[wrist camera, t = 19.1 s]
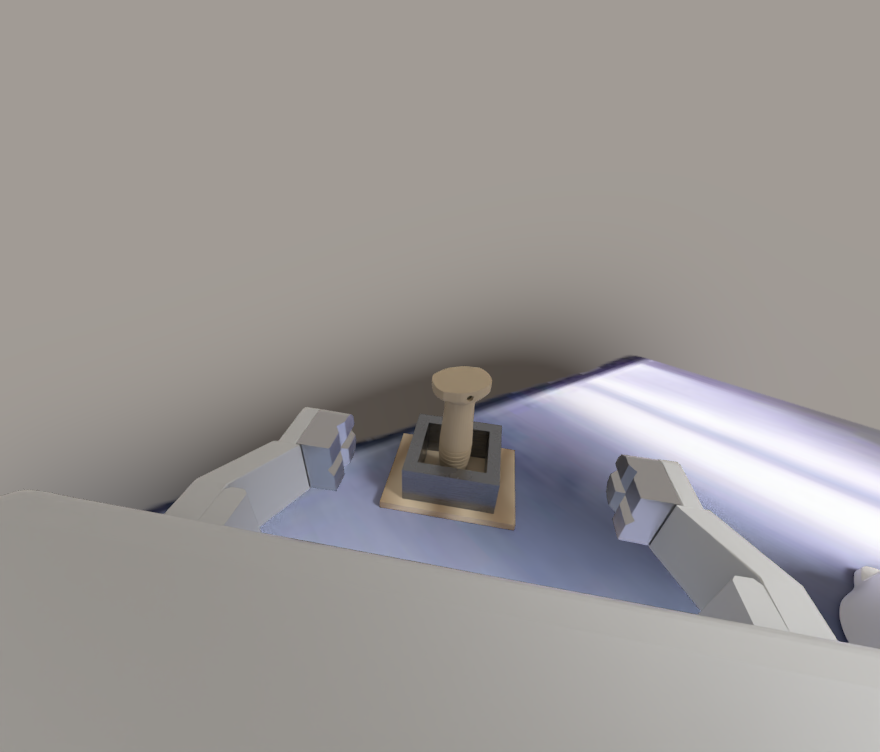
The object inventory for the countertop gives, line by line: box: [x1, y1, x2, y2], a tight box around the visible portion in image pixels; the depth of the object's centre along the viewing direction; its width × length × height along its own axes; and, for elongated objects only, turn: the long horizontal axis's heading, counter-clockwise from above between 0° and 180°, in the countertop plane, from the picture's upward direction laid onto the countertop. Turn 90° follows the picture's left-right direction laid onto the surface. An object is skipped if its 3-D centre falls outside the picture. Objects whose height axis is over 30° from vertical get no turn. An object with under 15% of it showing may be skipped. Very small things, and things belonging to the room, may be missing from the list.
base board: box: [380, 433, 515, 530], centre depth 48 cm, size 16×12×1 cm
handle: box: [432, 366, 492, 470], centre depth 43 cm, size 5×6×15 cm
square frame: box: [402, 414, 502, 514], centre depth 46 cm, size 11×10×5 cm
